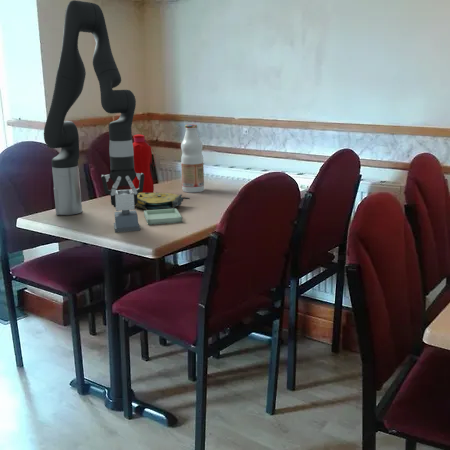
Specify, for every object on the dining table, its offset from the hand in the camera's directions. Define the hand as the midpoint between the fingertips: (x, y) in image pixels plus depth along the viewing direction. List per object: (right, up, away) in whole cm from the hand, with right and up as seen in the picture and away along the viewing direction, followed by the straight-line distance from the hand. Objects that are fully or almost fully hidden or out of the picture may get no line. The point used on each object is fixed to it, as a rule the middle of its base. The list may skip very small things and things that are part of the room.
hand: (124, 205), depth 186 cm
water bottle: (-1, +6, +54) cm, 55 cm away
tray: (+11, -4, +13) cm, 18 cm away
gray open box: (0, -1, 0) cm, 1 cm away
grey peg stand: (0, -7, +2) cm, 8 cm away
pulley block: (+3, 0, +31) cm, 31 cm away
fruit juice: (+19, +8, +60) cm, 63 cm away
